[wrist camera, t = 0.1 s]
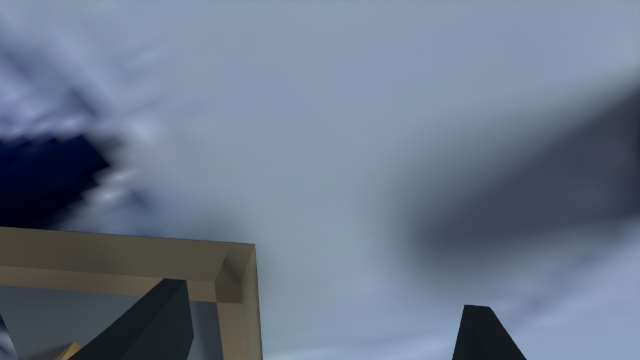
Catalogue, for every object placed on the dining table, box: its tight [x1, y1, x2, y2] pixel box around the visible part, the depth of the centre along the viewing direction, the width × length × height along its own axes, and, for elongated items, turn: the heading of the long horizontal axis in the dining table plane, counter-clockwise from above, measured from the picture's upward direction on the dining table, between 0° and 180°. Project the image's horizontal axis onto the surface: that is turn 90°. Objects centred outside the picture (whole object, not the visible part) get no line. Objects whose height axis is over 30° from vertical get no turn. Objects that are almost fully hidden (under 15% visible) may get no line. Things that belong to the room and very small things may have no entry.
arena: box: [0, 227, 263, 360], centre depth 27 cm, size 15×15×3 cm
